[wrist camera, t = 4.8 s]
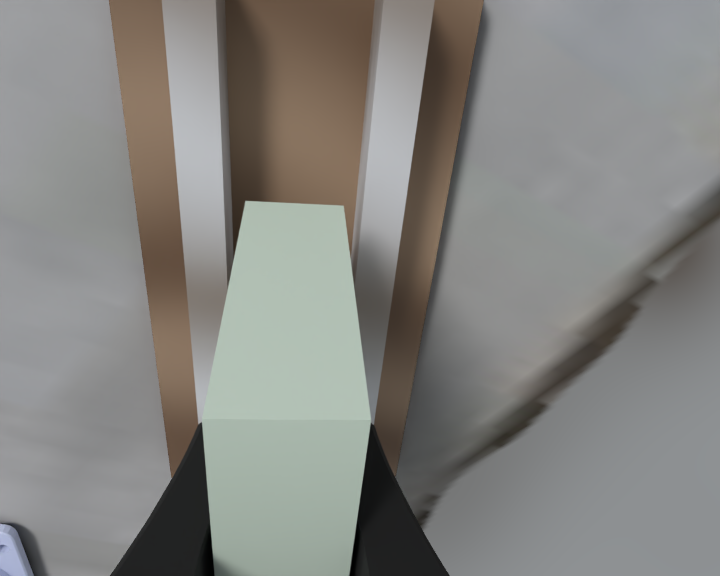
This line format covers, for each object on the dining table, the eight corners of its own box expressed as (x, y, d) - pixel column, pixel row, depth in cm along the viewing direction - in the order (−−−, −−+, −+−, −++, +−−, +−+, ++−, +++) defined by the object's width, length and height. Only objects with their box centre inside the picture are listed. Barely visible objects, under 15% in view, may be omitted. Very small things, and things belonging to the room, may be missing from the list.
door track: (393, 463, 22) (401, 511, 20) (174, 463, 21) (162, 514, 19) (478, -12, 13) (504, 1, 11) (111, -46, 12) (79, -38, 11)
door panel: (322, 464, 16) (329, 710, 11) (250, 464, 16) (226, 715, 11) (344, 205, 12) (370, 420, 7) (245, 200, 12) (200, 419, 7)
